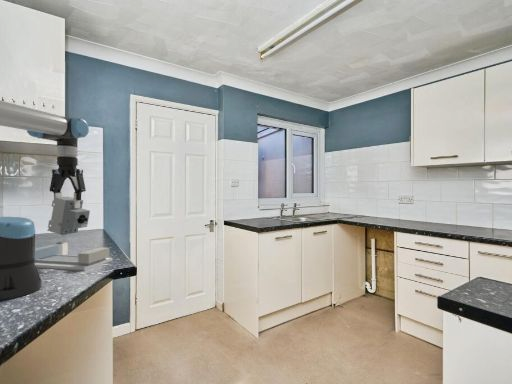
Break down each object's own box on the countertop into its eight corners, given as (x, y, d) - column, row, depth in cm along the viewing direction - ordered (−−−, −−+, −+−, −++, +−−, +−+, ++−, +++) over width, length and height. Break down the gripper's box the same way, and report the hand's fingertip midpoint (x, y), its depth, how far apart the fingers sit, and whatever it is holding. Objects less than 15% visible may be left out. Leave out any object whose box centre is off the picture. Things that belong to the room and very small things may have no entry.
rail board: (84, 270, 112) (84, 254, 112) (19, 266, 118) (19, 251, 118) (112, 260, 127) (112, 246, 127) (53, 257, 133) (53, 244, 133)
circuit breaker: (74, 238, 117) (81, 204, 117) (47, 230, 120) (53, 196, 119) (88, 235, 125) (94, 203, 124) (62, 228, 127) (68, 196, 127)
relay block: (62, 256, 135) (62, 242, 135) (53, 256, 134) (53, 242, 134) (67, 254, 140) (67, 240, 140) (59, 254, 139) (58, 241, 139)
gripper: (95, 157, 124) (95, 207, 124) (54, 158, 128) (54, 207, 128) (81, 155, 117) (81, 208, 117) (38, 156, 121) (39, 208, 121)
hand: (67, 207), depth 122 cm, fingers closed on circuit breaker, 9 cm apart
